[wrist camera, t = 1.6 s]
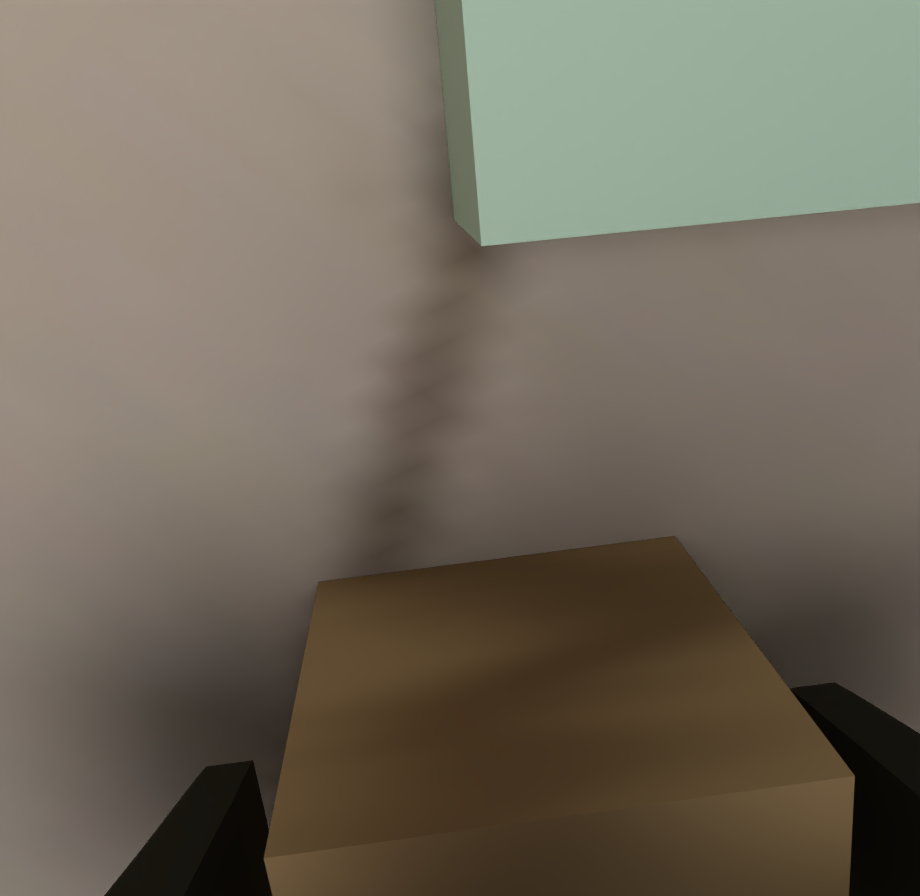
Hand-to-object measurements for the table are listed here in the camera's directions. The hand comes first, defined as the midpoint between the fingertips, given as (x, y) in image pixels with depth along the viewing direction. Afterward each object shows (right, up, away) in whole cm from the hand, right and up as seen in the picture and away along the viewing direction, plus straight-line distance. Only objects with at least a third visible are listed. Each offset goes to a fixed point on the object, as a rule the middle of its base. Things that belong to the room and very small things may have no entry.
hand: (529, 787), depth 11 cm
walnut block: (0, 0, +2) cm, 2 cm away
